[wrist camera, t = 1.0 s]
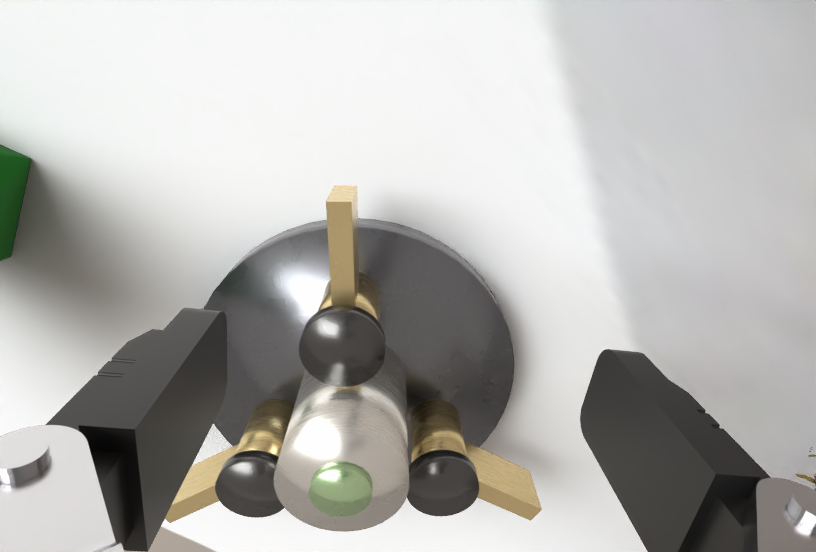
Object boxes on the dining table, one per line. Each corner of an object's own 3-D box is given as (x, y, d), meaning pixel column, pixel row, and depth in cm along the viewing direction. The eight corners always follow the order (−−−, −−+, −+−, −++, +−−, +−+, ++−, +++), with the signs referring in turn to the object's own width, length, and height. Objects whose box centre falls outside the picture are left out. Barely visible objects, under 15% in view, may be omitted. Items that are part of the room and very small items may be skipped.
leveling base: (418, 154, 29) (431, 207, 18) (553, 406, 37) (617, 545, 26) (137, 313, 32) (11, 433, 22) (314, 509, 41) (286, 666, 30)
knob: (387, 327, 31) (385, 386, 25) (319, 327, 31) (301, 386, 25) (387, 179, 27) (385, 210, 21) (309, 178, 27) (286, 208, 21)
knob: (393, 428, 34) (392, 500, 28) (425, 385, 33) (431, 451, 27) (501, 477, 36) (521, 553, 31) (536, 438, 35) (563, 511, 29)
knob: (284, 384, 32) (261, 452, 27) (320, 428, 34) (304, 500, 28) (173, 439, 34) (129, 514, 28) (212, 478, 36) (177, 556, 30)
